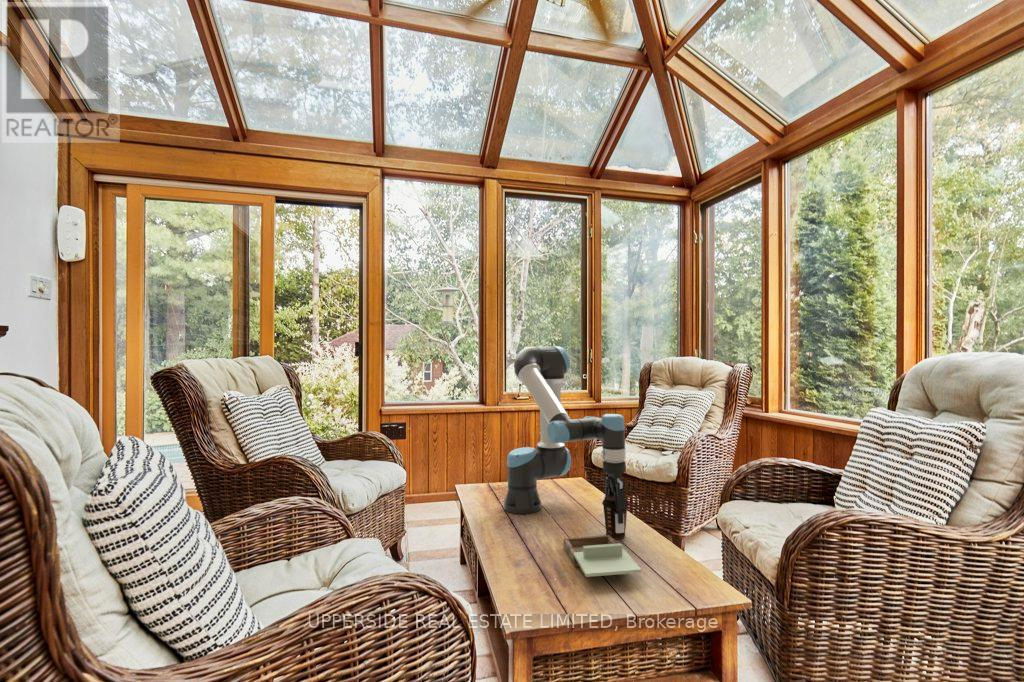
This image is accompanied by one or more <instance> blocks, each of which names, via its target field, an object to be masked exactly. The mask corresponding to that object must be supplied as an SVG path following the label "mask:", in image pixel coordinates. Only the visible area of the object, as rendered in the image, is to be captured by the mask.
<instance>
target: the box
mask: <svg viewBox="0 0 1024 682" xmlns="http://www.w3.org/2000/svg"><path fill="white" fill-rule="evenodd" d="M603 544H617V542H616V540H615V539H613V538H612V537H611V536H610V535H606V534H604V535H589V536H576V537H564V538H563V549H564V552H565V553H566V556H567V557H568V558H569V561H570V562H571V564H572V565H573V568H581V567H580V565H579V564H578V562H577V560H576V559H575V557H574V552H583V546H589V545H603Z"/></svg>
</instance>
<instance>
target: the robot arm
mask: <svg viewBox="0 0 1024 682" xmlns="http://www.w3.org/2000/svg"><path fill="white" fill-rule="evenodd" d="M570 361H571V360H570V356H569V354H568V352H567V351H566V349H565V348H563V346H559V345H556V346H555V345H545V346H544V345H543V346H527V347H524V348H523V349H521V350H520V351H519V352H518V353H517V355H516V357H515V360H514V363H513V364H514V366H513V368H514V373H515V375H516V377H517V379H518V380H519V382H521V383H523V384H524V386H525V387H526V389H527V390H528V392H529V394H530V395H531V397H532V398H533V401H534V402H535V403H536V405H537V407H538V409H539V420H540V422H539V425H540V435H539V436H540V441H538V442H537V444H536V448H534V447H531V446H525V447H519V448H515V449H512V450H511V451H509V453H508V454H507V458H506V459H507V460H506V466H507V468H506V469H507V470H506V471H507V491H506V494H505V498H504V501H503V510H504V511H506V512H507V513H511V514H516V515H517V514H518V515H526V514H533V513H537V512H539V511H540V510H542V507H543V506H542V505H543V504H542V500H541V497H540V494H539V490H538V486H537V484H538V482H537V481H538V480H545V479H550V478H558V477H561V476H565V475H566V474H567V473H568V472H569V471H570V468H571V464H572V456H571V454H570V453H571V452H570V450H569V449H568V448H567V447H566V444H567V443H570V442H572V443H573V442H578V441H588V440H599V441H601V442H602V450H601V454H602V459H603V461H602V471H603V472H604V477H605V479H604V480H605V485H604V486H605V487H604V491H605V492H604V497H605V496H608V495H614V499H615V506H616V512H614V514H615V526H616V533H624V513H626V509H627V506H626V500H627V499H626V489H625V488H626V483H625V481H623V479H622V475H623V474H624V473H626V470H627V469H626V468H627V467H626V461H625V460H626V435H625V433H626V432H625V430H626V426H625V418H624V416H623V415H622V414H619V413H606V414H605V413H604V414H602V415H601V417H597V416H594V415H591V416H590V415H587V416H584V417H582V418H574V419H571V417H570V416H569V415H568V413H567V412H566V410H565V408H564V407H563V406H562V402H561V401H562V395H561V394H562V393H561V392H562V391H561V390H562V389H561V388H562V387H561V386H562V385H561V383H562V382H563V381H564V380H565V374H567V373H568V372H569V370H570V366H571V362H570Z"/></svg>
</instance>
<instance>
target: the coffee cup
mask: <svg viewBox="0 0 1024 682" xmlns="http://www.w3.org/2000/svg"><path fill="white" fill-rule="evenodd" d="M603 498H604V499H603V500H602V501H601V502H602V506H603V515H604V525H605V535H610V536H611V537H612V538H613V540H621V539H623V538H625V537H626V528H627V517H628V516H627V513H628V509H627V508H626V513H624V533H616V526H615V514H614V512H616V506H615V499H614V495H608V496H605V495H604V497H603ZM625 500H626V507H627V506H628V505H629V502H628V500H627V499H625Z"/></svg>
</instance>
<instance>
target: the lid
mask: <svg viewBox="0 0 1024 682" xmlns="http://www.w3.org/2000/svg"><path fill="white" fill-rule="evenodd" d="M616 543H617V542H616ZM574 557H575V559H576V560H577V562H578V564H579V565H580V567H579V568H580V569H581V571H582V572H583V574H584V576H585V577H586V578H587V577H588V578H590V577H600V576H613V575H627V574H638V573H640V574H641V573H642V568H641V567H640V566H639V565H638V564H637V563H636V561H635V560H634V559H633V557H632V556H631V555H630V554H629V553H628V552H627V551H626V550H625V549H624V548H623V544H622V543H617V544H603V545H589V546H583V552H574Z"/></svg>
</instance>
